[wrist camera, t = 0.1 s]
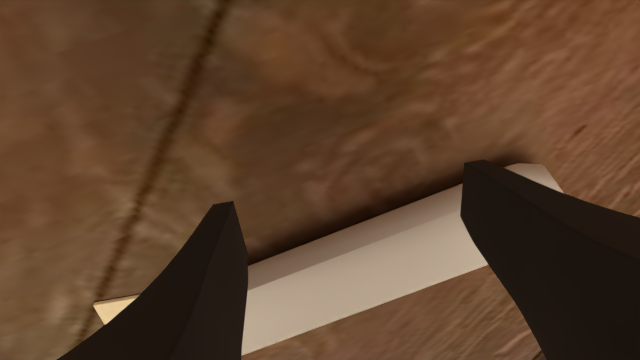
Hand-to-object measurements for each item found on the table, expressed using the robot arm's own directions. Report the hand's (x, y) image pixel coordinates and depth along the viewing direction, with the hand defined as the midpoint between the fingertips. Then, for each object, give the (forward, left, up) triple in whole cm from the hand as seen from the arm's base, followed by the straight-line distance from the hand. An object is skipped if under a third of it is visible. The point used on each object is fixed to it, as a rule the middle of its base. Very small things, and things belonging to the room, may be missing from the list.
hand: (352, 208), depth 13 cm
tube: (-10, -1, -10) cm, 14 cm away
